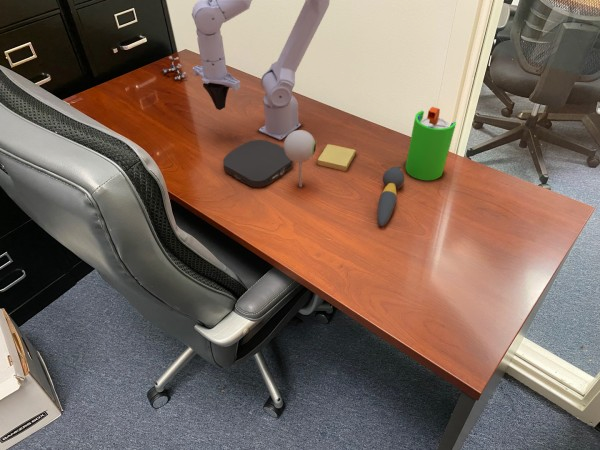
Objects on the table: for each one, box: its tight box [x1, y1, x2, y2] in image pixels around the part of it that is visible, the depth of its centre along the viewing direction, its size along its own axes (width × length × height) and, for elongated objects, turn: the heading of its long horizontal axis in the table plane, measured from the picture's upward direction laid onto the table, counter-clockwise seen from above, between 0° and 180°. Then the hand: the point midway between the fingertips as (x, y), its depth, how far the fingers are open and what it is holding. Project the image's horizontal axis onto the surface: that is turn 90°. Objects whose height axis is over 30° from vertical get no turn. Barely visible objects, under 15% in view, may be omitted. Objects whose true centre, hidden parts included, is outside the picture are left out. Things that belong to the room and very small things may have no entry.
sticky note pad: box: [317, 143, 356, 172], centre depth 113 cm, size 8×8×2 cm
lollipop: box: [283, 129, 317, 188], centre depth 101 cm, size 7×7×15 cm
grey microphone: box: [377, 166, 405, 227], centre depth 100 cm, size 20×5×5 cm, turn 167°
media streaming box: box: [222, 139, 294, 188], centre depth 111 cm, size 15×15×3 cm
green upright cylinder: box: [405, 106, 457, 181], centre depth 103 cm, size 9×8×18 cm
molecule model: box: [162, 55, 187, 81], centre depth 146 cm, size 6×12×8 cm, turn 41°
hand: (220, 107), depth 114 cm, fingers closed
